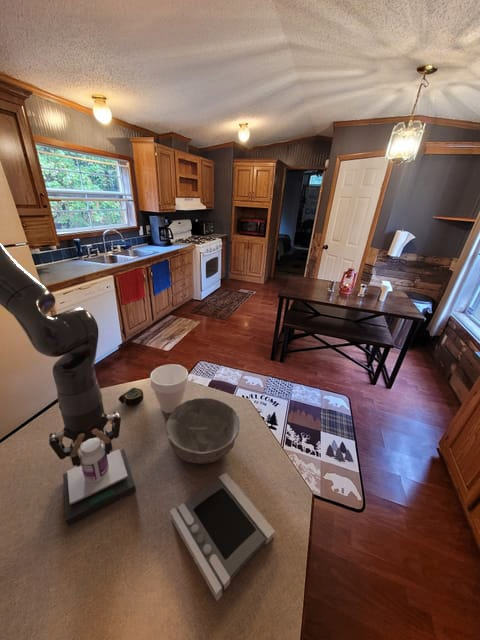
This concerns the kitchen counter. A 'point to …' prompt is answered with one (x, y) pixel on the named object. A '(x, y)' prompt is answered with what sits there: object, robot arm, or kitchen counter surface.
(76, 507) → the scale
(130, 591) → the kitchen counter surface
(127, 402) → the tape measure
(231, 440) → the bowl
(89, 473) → the pill bottle
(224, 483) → the alarm clock
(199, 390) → the kitchen counter surface
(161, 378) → the cup
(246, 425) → the kitchen counter surface
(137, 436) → the kitchen counter surface
